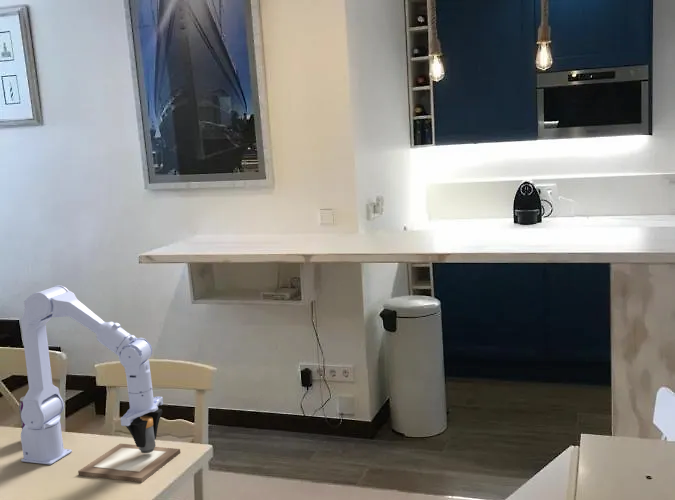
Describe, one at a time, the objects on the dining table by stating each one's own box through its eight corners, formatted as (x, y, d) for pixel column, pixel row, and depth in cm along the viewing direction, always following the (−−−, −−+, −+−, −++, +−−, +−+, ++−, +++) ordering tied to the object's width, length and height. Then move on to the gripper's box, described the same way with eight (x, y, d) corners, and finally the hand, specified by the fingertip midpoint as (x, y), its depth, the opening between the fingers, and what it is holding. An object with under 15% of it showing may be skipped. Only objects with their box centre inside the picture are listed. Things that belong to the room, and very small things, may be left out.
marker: (135, 453, 176) (131, 421, 174) (145, 446, 179) (141, 415, 178) (149, 454, 174) (145, 423, 173) (159, 447, 178) (156, 416, 177)
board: (78, 475, 171) (77, 470, 171) (120, 447, 186) (120, 442, 186) (142, 482, 165) (141, 477, 165) (180, 452, 180) (179, 448, 179)
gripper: (135, 401, 166) (142, 456, 168) (171, 380, 180) (176, 432, 182) (110, 399, 169) (117, 454, 171) (147, 379, 182) (153, 430, 184)
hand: (146, 442), depth 176 cm, fingers closed on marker, 4 cm apart
